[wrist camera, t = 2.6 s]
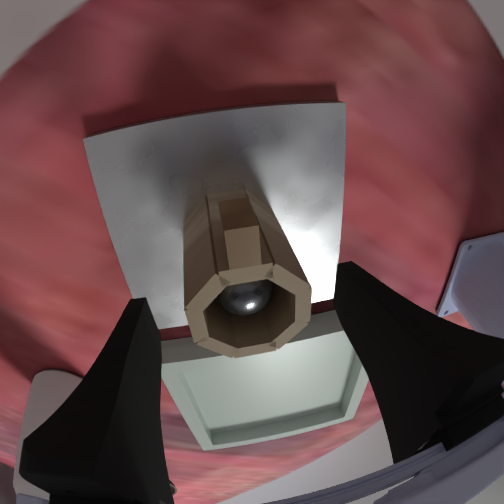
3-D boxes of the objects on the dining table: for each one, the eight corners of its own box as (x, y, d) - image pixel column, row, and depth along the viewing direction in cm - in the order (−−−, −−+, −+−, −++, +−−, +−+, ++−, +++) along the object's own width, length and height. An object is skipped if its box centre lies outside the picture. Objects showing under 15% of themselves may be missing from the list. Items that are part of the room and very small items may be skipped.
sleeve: (269, 157, 14) (315, 216, 9) (274, 260, 18) (308, 343, 13) (173, 171, 14) (164, 240, 9) (194, 273, 17) (201, 363, 12)
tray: (377, 299, 22) (389, 318, 21) (346, 404, 31) (352, 418, 30) (155, 341, 21) (155, 364, 19) (201, 434, 30) (203, 450, 28)
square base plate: (338, 100, 14) (415, 130, 9) (329, 290, 21) (368, 362, 16) (87, 134, 13) (32, 183, 8) (147, 321, 20) (143, 405, 14)
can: (20, 373, 21) (-5, 496, 11) (68, 359, 20) (47, 507, 11) (66, 410, 24) (57, 521, 15) (116, 401, 24) (114, 528, 14)
